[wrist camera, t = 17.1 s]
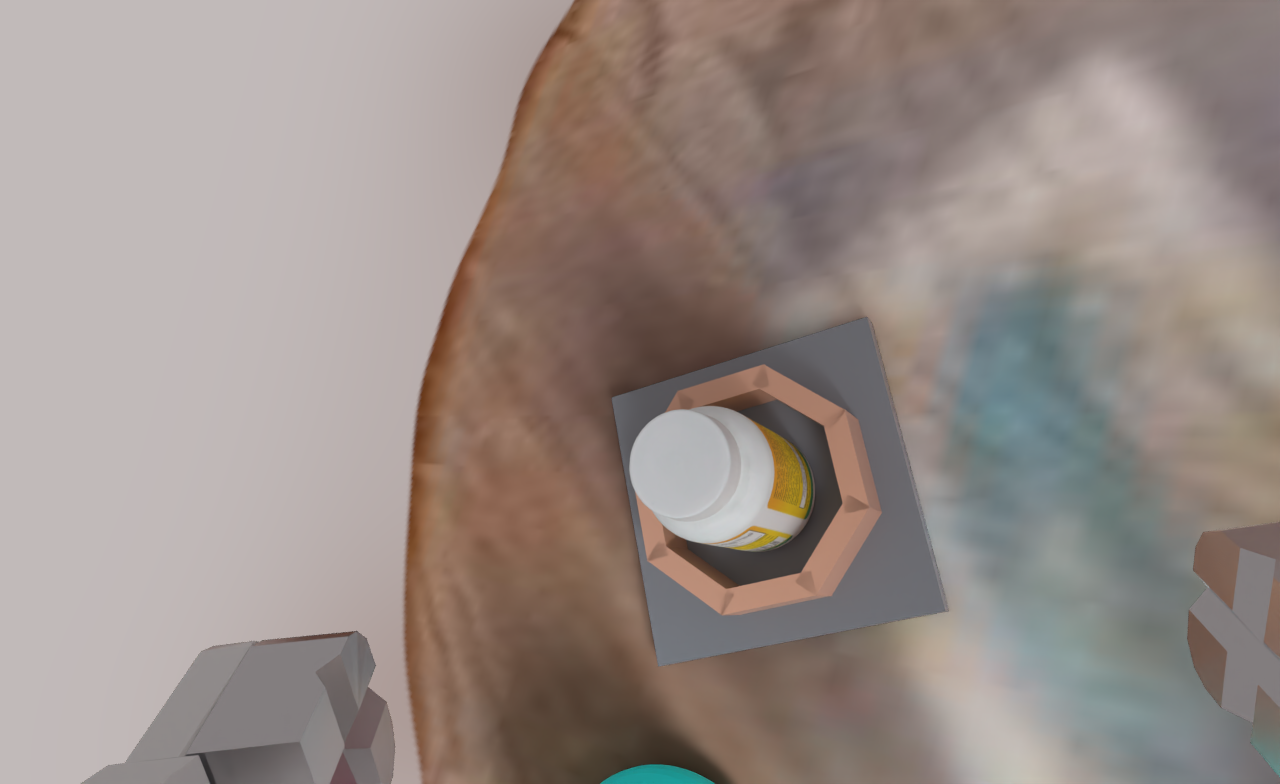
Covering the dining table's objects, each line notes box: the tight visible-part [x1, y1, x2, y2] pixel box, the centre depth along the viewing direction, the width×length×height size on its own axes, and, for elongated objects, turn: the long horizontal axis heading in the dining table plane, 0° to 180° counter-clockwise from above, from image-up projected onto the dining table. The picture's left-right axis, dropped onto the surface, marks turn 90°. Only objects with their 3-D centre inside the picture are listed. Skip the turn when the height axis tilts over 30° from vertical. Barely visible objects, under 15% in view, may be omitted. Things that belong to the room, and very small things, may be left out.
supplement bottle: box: [629, 406, 815, 552], centre depth 38 cm, size 5×5×10 cm
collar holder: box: [612, 317, 949, 666], centre depth 42 cm, size 13×13×4 cm
